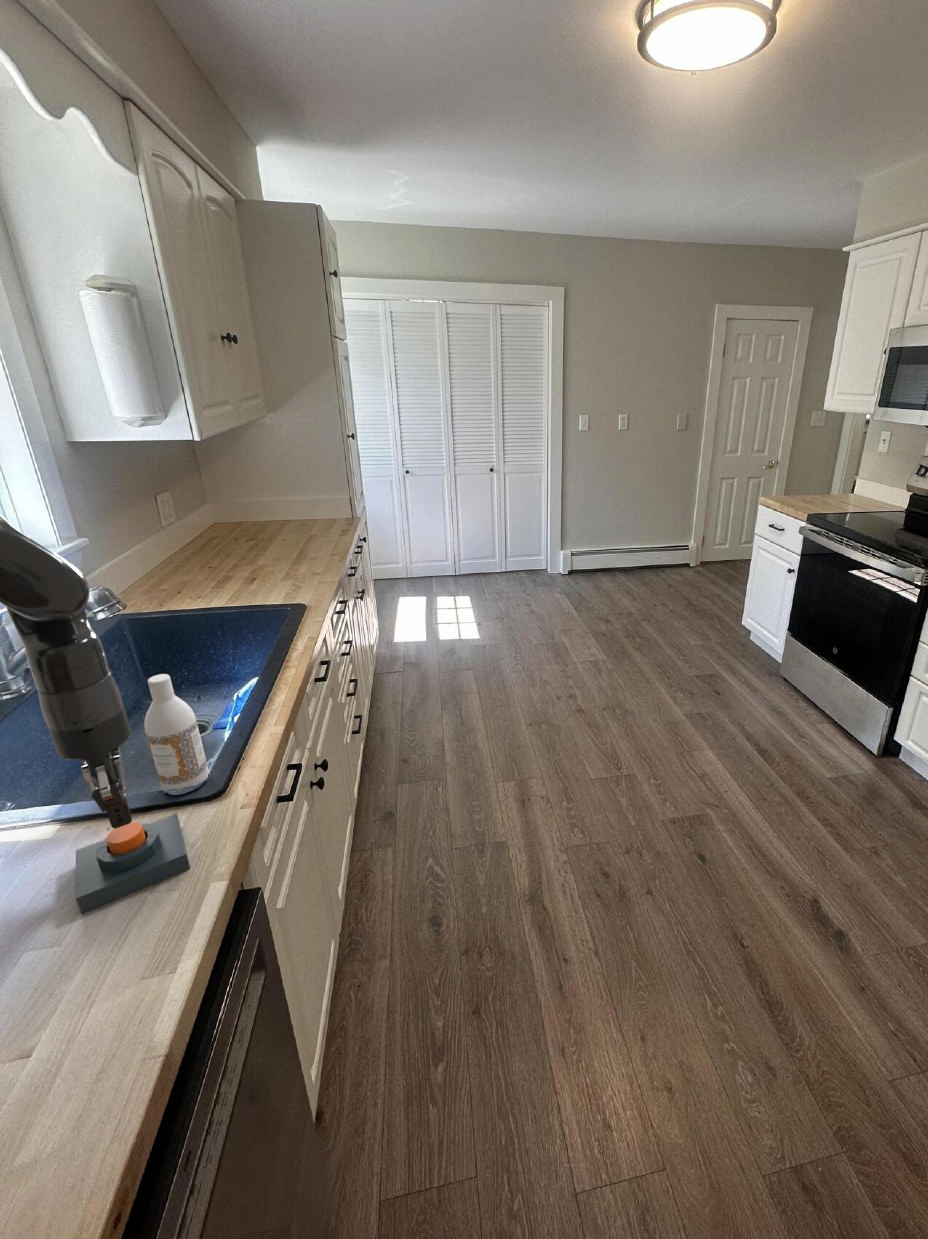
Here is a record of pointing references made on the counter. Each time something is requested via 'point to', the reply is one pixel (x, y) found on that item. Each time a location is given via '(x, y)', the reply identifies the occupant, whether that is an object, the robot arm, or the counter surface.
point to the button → (126, 838)
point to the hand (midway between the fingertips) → (122, 822)
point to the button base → (129, 865)
